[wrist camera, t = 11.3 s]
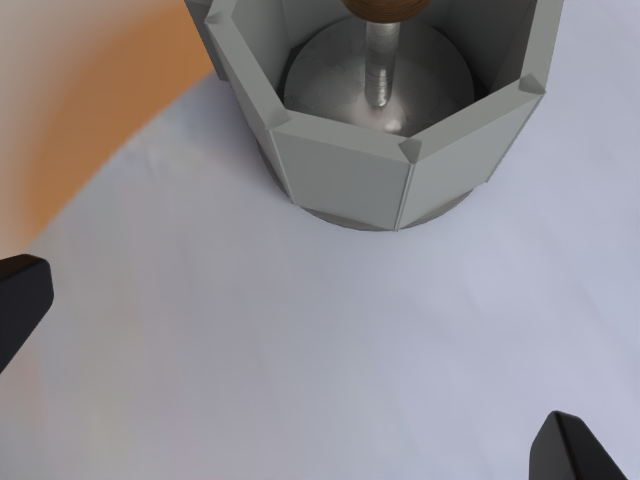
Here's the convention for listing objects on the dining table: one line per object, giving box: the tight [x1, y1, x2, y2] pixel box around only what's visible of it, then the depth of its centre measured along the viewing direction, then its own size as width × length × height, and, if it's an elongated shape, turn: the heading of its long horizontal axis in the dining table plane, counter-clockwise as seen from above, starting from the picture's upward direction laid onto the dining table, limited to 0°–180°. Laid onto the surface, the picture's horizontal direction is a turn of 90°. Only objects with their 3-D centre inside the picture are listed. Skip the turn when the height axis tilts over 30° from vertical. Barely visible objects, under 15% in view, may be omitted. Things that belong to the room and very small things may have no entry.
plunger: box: [284, 0, 474, 138], centre depth 19 cm, size 8×8×10 cm
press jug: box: [184, 0, 564, 232], centre depth 21 cm, size 12×13×8 cm
